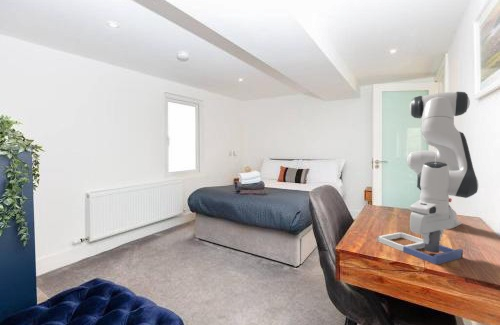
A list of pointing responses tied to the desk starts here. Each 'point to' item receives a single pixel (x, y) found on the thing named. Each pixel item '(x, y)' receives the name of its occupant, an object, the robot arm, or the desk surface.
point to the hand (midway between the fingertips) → (431, 242)
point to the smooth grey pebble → (433, 242)
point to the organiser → (411, 248)
